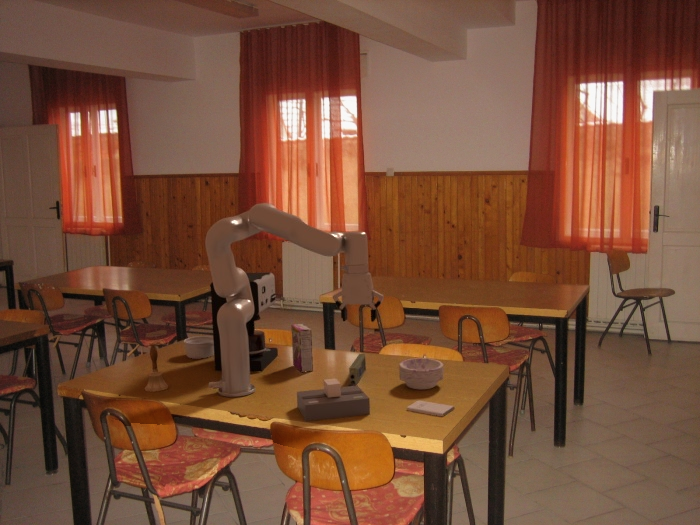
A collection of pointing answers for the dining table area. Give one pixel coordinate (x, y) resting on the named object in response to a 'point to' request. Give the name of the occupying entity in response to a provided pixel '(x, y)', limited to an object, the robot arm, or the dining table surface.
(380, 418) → the dining table surface
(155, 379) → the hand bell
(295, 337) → the candy bar box
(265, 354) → the coffee maker
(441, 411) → the external hard drive
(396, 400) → the dining table surface
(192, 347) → the ramekin
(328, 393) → the knob
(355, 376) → the handheld radio
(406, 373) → the pale lavender bowl
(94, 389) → the dining table surface
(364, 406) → the switch panel
